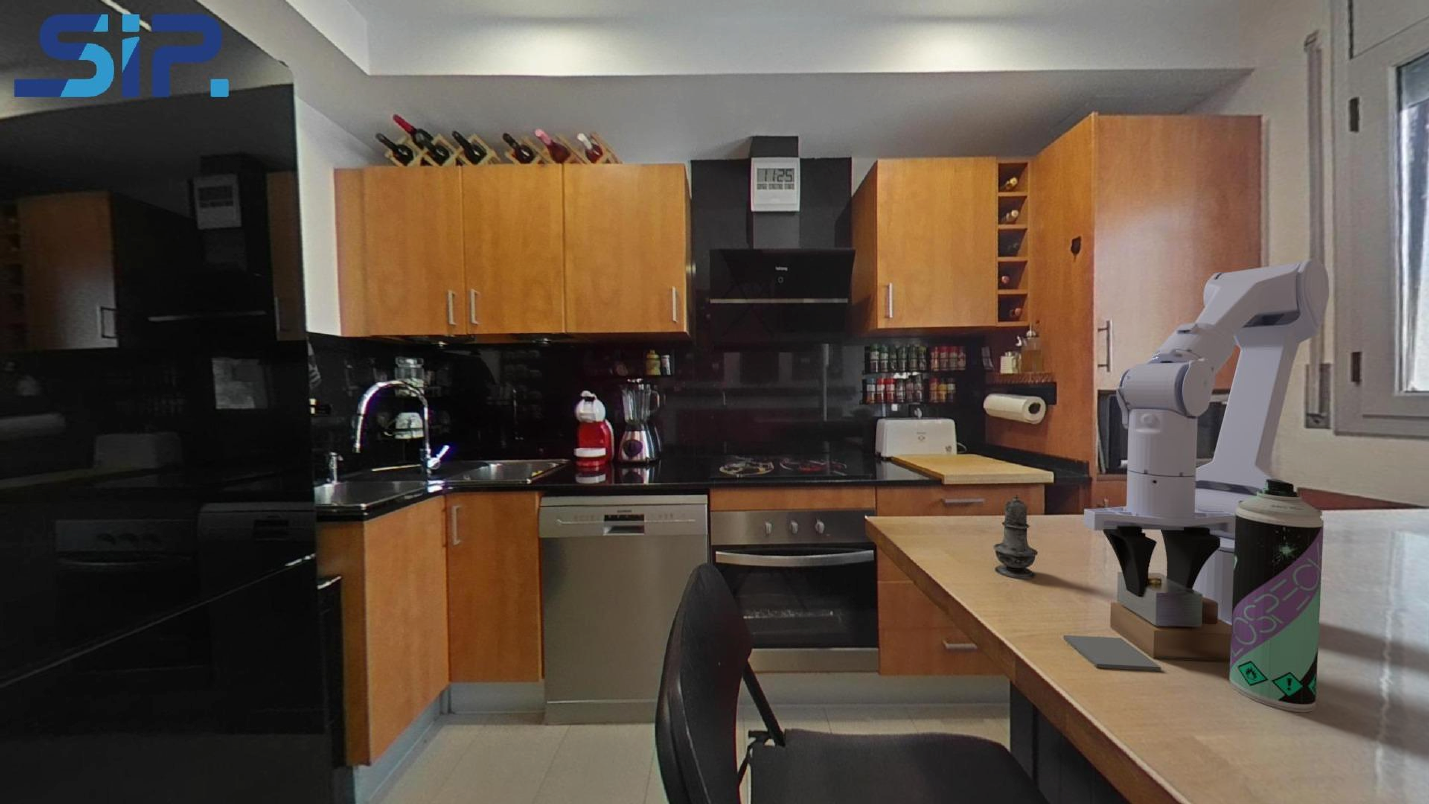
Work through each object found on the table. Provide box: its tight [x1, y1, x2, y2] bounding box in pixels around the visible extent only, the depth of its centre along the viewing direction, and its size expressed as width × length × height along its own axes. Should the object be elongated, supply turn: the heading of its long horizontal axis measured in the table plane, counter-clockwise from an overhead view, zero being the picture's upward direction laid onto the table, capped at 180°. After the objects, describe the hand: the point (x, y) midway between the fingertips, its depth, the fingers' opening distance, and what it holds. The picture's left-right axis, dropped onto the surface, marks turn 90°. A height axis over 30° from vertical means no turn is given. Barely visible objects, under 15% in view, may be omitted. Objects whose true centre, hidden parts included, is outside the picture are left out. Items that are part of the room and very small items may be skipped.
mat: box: [1063, 634, 1162, 672], centre depth 56 cm, size 6×6×1 cm
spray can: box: [1229, 479, 1324, 713], centre depth 48 cm, size 6×6×20 cm
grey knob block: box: [1116, 571, 1203, 627], centre depth 58 cm, size 4×6×4 cm
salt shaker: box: [992, 493, 1039, 580], centre depth 79 cm, size 6×6×12 cm
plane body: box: [1109, 597, 1231, 663], centre depth 58 cm, size 9×7×5 cm
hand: (1157, 594), depth 58 cm, fingers closed on grey knob block, 4 cm apart
